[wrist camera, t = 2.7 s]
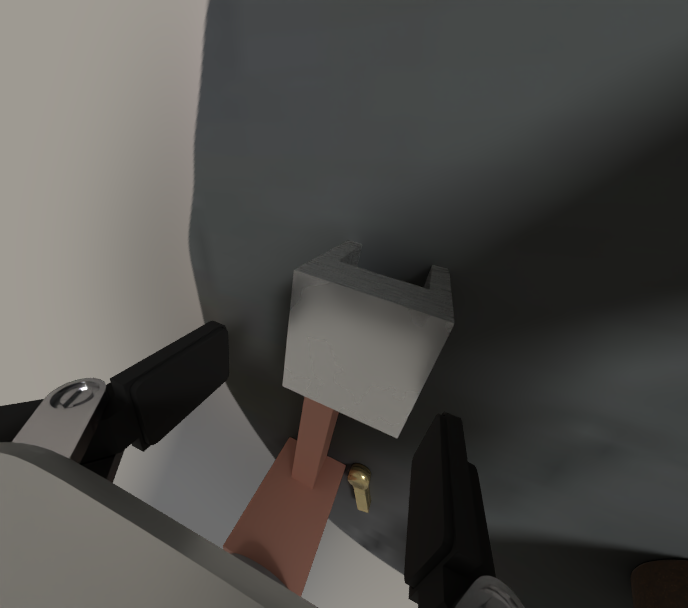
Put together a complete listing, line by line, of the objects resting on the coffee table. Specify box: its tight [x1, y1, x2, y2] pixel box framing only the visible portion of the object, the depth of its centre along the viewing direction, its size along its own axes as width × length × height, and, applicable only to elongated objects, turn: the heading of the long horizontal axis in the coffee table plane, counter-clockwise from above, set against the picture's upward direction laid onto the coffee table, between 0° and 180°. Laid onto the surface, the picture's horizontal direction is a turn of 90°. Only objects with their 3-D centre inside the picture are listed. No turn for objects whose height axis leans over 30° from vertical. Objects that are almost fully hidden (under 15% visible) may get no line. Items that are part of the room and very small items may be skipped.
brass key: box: [348, 463, 371, 513], centre depth 26 cm, size 6×2×1 cm, turn 8°
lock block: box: [282, 240, 455, 438], centre depth 14 cm, size 7×7×7 cm
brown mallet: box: [223, 397, 346, 597], centre depth 20 cm, size 17×7×12 cm, turn 168°
